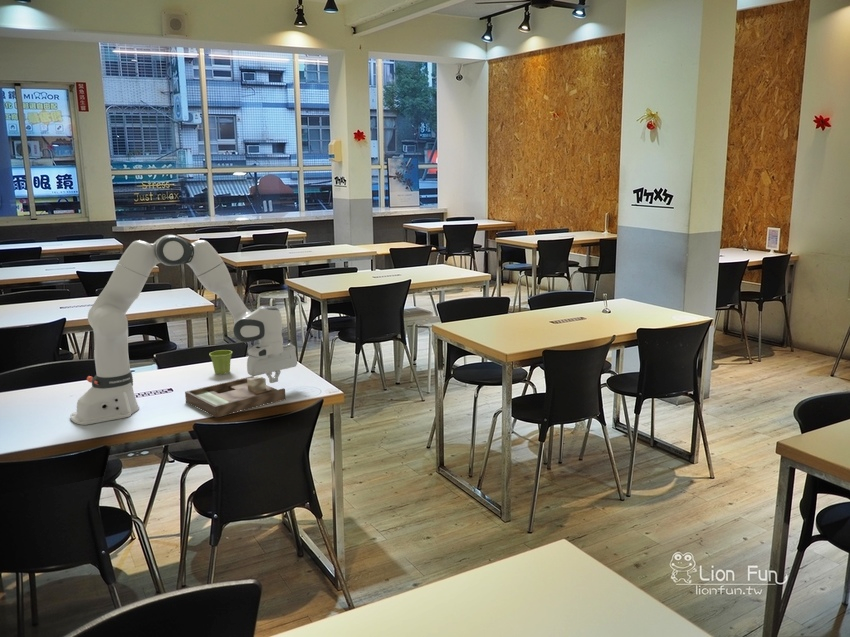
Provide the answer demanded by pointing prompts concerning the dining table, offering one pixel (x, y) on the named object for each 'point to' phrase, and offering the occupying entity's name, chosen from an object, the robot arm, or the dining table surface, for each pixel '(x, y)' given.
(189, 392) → the box
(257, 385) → the cream block
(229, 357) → the plant pot
